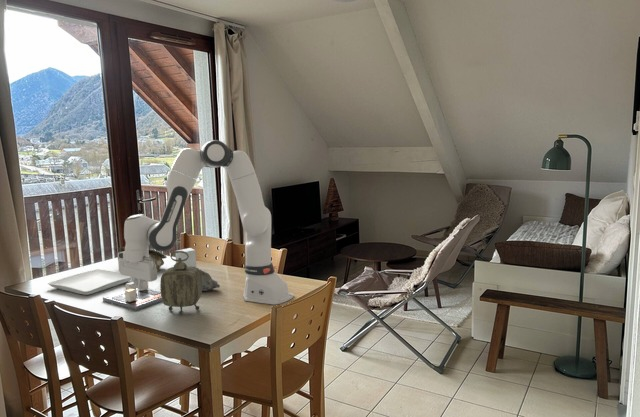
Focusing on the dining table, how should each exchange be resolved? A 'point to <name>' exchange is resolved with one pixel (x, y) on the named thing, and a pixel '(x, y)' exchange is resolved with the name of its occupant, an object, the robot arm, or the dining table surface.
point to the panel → (142, 299)
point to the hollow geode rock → (154, 255)
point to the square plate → (90, 281)
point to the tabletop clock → (181, 285)
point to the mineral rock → (208, 281)
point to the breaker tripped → (130, 295)
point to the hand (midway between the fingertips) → (138, 288)
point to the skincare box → (192, 256)
